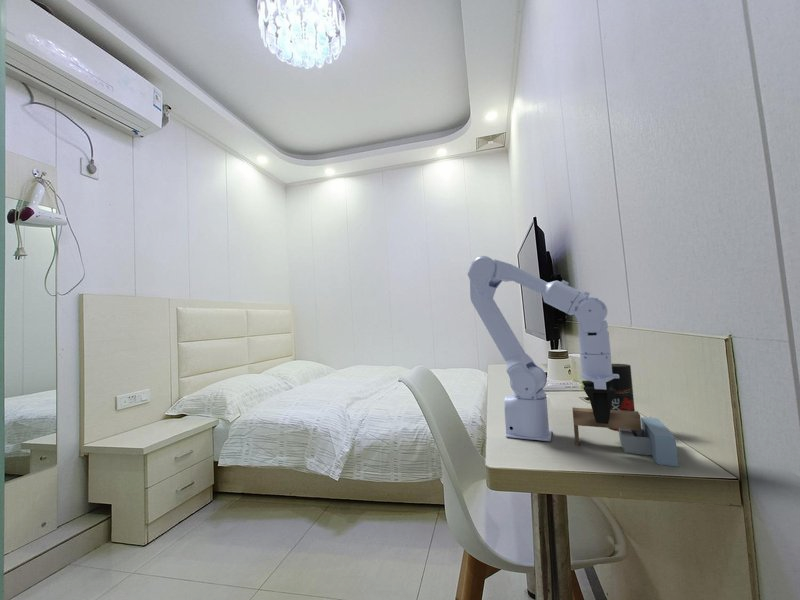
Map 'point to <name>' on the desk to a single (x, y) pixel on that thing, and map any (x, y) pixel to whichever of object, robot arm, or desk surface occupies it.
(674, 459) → the light blue holder
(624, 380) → the deodorant
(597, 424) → the rail
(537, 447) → the desk surface
